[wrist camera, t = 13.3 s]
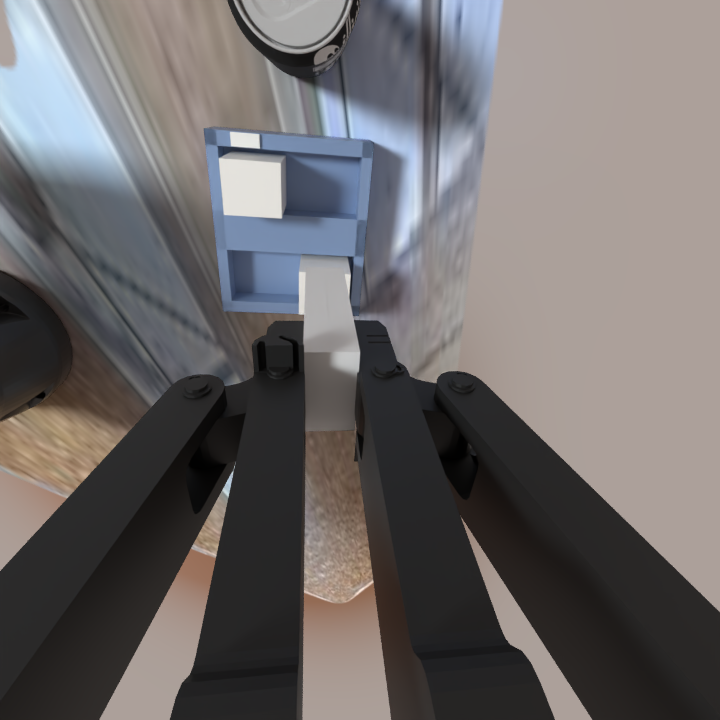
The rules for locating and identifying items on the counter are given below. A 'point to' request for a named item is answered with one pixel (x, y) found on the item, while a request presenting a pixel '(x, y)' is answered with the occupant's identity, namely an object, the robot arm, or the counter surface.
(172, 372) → the counter surface
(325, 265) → the white block
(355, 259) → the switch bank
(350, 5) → the beverage can
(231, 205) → the tab near
